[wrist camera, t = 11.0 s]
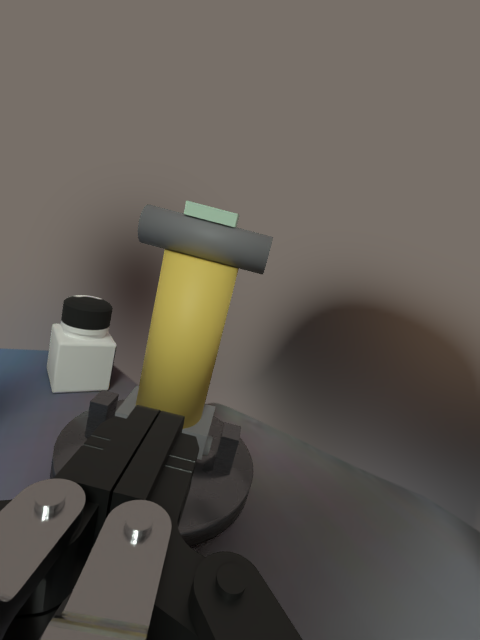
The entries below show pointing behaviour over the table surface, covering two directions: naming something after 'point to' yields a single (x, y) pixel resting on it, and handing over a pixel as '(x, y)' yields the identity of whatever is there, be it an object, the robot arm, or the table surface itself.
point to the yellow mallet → (191, 308)
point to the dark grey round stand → (208, 479)
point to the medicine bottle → (81, 347)
